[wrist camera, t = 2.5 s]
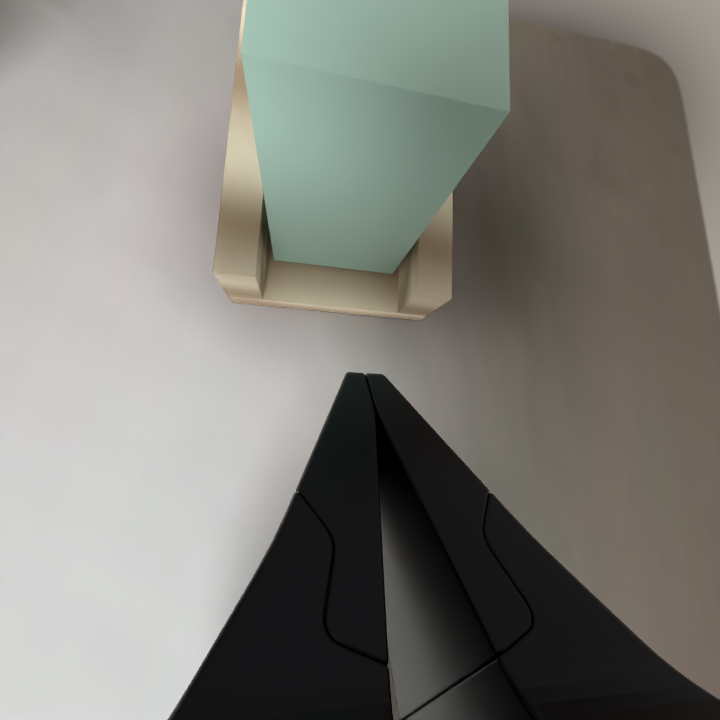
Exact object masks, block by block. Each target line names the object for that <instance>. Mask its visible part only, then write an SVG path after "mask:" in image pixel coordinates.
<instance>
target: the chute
mask: <svg viewBox="0 0 720 720" xmlns="http://www.w3.org/2000/svg"><path fill="white" fill-rule="evenodd" d="M246 3H247V0H243V8H242V17H241V26H240V35H239V44H238V53H237V62H236V71H235V80H234V89H233V97H232V106H231V115H230V124H229V133H228V142H227V151H226V160H225V169H224V178H223V187H222V195H221V204H220V213H219V222H218V231H217V240H216V249H215V258H214V267H213V273H214V275H215V277H216V278H217V280H218V281H219V283H220V284H221V286H222V287H223V289H224V291H225V292H226V294H227V295H228V297H229V298H230V300H231V302H232V303H242V304H253V305H263V306H274V307H284V308H295V309H305V310H316V311H326V312H337V313H347V314H358V315H368V316H379V317H389V318H400V319H410V320H421V319H423V318H424V317H426V316H427V315H428V314H430V313H431V312H433V311H434V310H436V309H437V308H439V307H440V306H442V305H443V304H444V303H446V302H447V301H449V300H450V299H452V223H453V191H452V193H451V194H450V195H449V197H448V198H447V200H446V201H445V202H444V204H443V205H442V206H441V208H440V209H439V211H438V212H437V213H436V215H435V216H434V217H433V219H432V220H431V222H430V223H429V224H428V226H427V227H426V228H425V230H424V231H423V233H422V234H421V235H420V237H419V238H418V239H417V241H416V242H415V244H414V245H413V246H412V248H411V249H410V250H409V252H408V253H407V255H406V256H405V257H404V259H403V260H402V261H401V263H400V264H399V266H398V267H397V268H396V270H395V271H394V272H393V274H388V273H379V272H371V271H362V270H354V269H346V268H337V267H329V266H320V265H312V264H303V263H295V262H286V261H278V260H274V255H273V249H272V243H271V237H270V230H269V224H268V218H267V212H266V206H265V199H264V193H263V187H262V181H261V175H260V168H259V162H258V156H257V150H256V143H255V137H254V131H253V125H252V119H251V112H250V106H249V100H248V94H247V88H246V81H245V75H244V69H243V63H242V56H241V48H242V39H243V30H244V21H245V12H246Z"/></svg>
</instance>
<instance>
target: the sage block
mask: <svg viewBox="0 0 720 720" xmlns="http://www.w3.org/2000/svg"><path fill="white" fill-rule="evenodd" d="M241 56H242V63H243V69H244V75H245V81H246V88H247V94H248V100H249V106H250V112H251V119H252V125H253V131H254V137H255V143H256V150H257V156H258V162H259V168H260V175H261V181H262V187H263V193H264V199H265V206H266V212H267V218H268V224H269V230H270V237H271V243H272V249H273V255H274V260H278V261H286V262H295V263H303V264H312V265H320V266H329V267H337V268H346V269H354V270H362V271H371V272H379V273H388V274H393V272H394V271H395V270H396V268H397V267H398V266H399V264H400V263H401V261H402V260H403V259H404V257H405V256H406V255H407V253H408V252H409V250H410V249H411V248H412V246H413V245H414V244H415V242H416V241H417V239H418V238H419V237H420V235H421V234H422V233H423V231H424V230H425V228H426V227H427V226H428V224H429V223H430V222H431V220H432V219H433V217H434V216H435V215H436V213H437V212H438V211H439V209H440V208H441V206H442V205H443V204H444V202H445V201H446V200H447V198H448V197H449V195H450V194H451V193H452V191H453V190H454V188H455V187H456V186H457V184H458V183H459V182H460V180H461V179H462V177H463V176H464V175H465V173H466V172H467V171H468V169H469V168H470V166H471V165H472V164H473V162H474V161H475V160H476V158H477V157H478V155H479V154H480V153H481V151H482V150H483V149H484V147H485V146H486V144H487V143H488V142H489V140H490V139H491V138H492V136H493V135H494V133H495V132H496V131H497V129H498V128H499V127H500V125H501V124H502V122H503V121H504V120H505V118H506V117H507V116H508V114H509V113H510V68H509V12H508V0H247V3H246V12H245V21H244V30H243V39H242V48H241Z"/></svg>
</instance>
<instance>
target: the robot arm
mask: <svg viewBox="0 0 720 720" xmlns="http://www.w3.org/2000/svg"><path fill="white" fill-rule="evenodd" d="M488 493H489V490H488V489H487V487H486V486H485V485H484V484H483V483H482V482H481V481H480V480H479V479H478V478H477V476H476V475H475V474H474V473H473V472H472V471H471V470H470V469H469V468H468V467H467V466H466V464H465V463H464V462H463V461H462V460H461V459H460V458H459V457H458V456H457V455H456V453H455V452H454V451H453V450H452V449H451V448H450V447H449V446H448V445H447V444H446V443H445V441H444V440H443V439H442V438H441V437H440V436H439V435H438V434H437V433H436V432H435V430H434V429H433V428H432V427H431V426H430V425H429V424H428V423H427V422H426V421H425V420H424V418H423V417H422V416H421V415H420V414H419V413H418V412H417V411H416V410H415V409H414V407H413V406H412V405H411V404H410V403H409V402H408V401H407V400H406V399H405V398H404V397H403V395H402V394H401V393H400V392H399V391H398V390H397V389H396V388H395V387H394V386H393V384H392V383H391V382H390V381H389V380H388V379H387V378H386V377H385V376H384V375H382V374H369V373H368V374H366V375H364V374H363V373H354V372H348V373H346V375H345V377H344V379H343V382H342V384H341V386H340V389H339V391H338V393H337V396H336V398H335V400H334V403H333V405H332V407H331V410H330V412H329V414H328V417H327V419H326V421H325V424H324V426H323V428H322V431H321V433H320V435H319V438H318V440H317V442H316V445H315V447H314V449H313V451H312V454H311V456H310V458H309V461H308V463H307V465H306V468H305V470H304V472H303V475H302V477H301V479H300V482H299V484H298V486H297V489H296V493H294V495H293V497H292V500H291V502H290V504H289V507H288V509H287V511H286V513H285V516H284V518H283V520H282V522H281V524H280V526H279V528H278V530H277V533H276V535H275V537H274V539H273V541H272V543H271V545H270V547H269V548H268V550H267V552H266V554H265V556H264V558H263V559H262V561H261V563H260V565H259V567H258V569H257V570H256V572H255V574H254V576H253V578H252V579H251V581H250V583H249V585H248V586H247V588H246V590H245V591H244V593H243V595H242V596H241V598H240V600H239V602H238V603H237V605H236V607H235V608H234V610H233V612H232V613H231V615H230V617H229V619H228V620H227V622H226V624H225V625H224V627H223V629H222V630H221V632H220V634H219V636H218V637H217V639H216V641H215V642H214V644H213V646H212V647H211V649H210V651H209V653H208V654H207V656H206V658H205V659H204V661H203V663H202V664H201V666H200V668H199V670H198V671H197V673H196V675H195V676H194V678H193V680H192V681H191V683H190V685H189V686H188V688H187V690H186V691H185V693H184V694H183V696H182V698H181V699H180V701H179V703H178V704H177V706H176V707H175V709H174V711H173V712H172V714H171V715H170V717H169V718H168V720H393V714H392V704H391V693H390V679H389V669H388V667H387V665H388V651H389V657H390V663H391V670H392V676H393V682H394V689H395V695H396V702H397V708H398V714H399V719H400V720H720V700H719V699H718V698H716V697H715V696H713V695H711V694H710V693H708V692H707V691H705V690H704V689H702V688H701V687H699V686H698V685H696V684H695V683H693V682H692V681H691V680H689V679H688V678H687V677H685V676H684V675H682V674H681V673H680V672H678V671H677V670H676V669H675V668H673V667H672V666H671V665H670V664H668V663H667V662H666V661H665V660H663V659H662V658H661V657H660V656H659V655H657V654H656V653H655V652H654V651H653V650H652V649H651V648H650V647H648V646H647V645H646V644H645V643H644V642H643V641H642V640H641V639H640V638H639V637H638V636H637V635H635V634H634V633H633V632H632V631H631V630H630V629H629V628H628V627H627V626H626V625H625V624H624V623H623V622H622V621H621V620H620V619H618V618H617V617H616V616H615V615H614V614H613V613H612V612H611V611H610V610H609V609H608V608H607V607H606V606H605V605H604V604H603V603H602V602H600V601H599V600H598V599H597V598H596V597H595V596H594V595H593V594H592V593H591V592H590V591H589V590H588V589H587V588H586V587H585V586H583V585H582V584H581V583H580V582H579V581H578V580H577V579H576V578H575V577H574V576H573V575H572V574H571V573H570V572H569V571H568V570H567V569H565V568H564V567H563V566H562V565H561V564H560V563H559V562H558V561H557V560H556V559H555V558H554V557H553V556H552V555H551V554H550V553H549V552H548V551H547V550H546V549H545V548H544V547H543V546H542V545H541V544H540V543H539V542H538V541H537V540H536V539H535V538H534V537H533V536H532V535H531V534H530V533H529V532H528V531H527V530H526V529H525V528H524V527H523V526H522V525H521V524H520V523H519V522H518V521H517V520H516V519H515V518H514V516H513V515H512V514H511V513H510V512H509V511H508V510H507V509H506V508H505V507H504V506H503V505H502V504H501V503H500V501H499V500H498V499H497V498H496V497H495V496H494V495H493V494H492V493H489V494H488Z"/></svg>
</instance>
